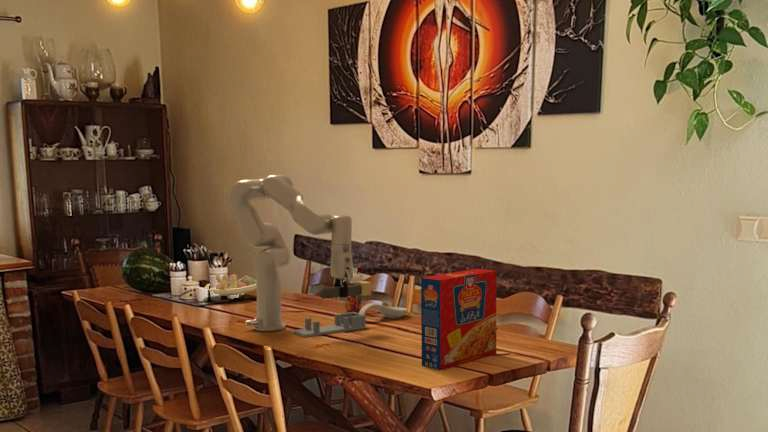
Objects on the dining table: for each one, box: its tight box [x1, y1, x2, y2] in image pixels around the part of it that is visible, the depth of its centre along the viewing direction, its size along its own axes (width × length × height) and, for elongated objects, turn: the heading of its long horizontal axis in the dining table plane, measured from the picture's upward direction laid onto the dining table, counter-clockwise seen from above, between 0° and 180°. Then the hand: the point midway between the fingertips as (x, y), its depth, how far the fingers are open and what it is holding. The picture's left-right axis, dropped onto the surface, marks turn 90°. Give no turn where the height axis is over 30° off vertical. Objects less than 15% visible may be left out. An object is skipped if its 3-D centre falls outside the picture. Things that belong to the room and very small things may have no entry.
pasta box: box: [420, 268, 497, 371], centre depth 221 cm, size 28×8×28 cm, turn 134°
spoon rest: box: [358, 302, 409, 319], centre depth 286 cm, size 24×12×7 cm, turn 128°
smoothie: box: [343, 266, 363, 313], centre depth 301 cm, size 8×8×20 cm
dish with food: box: [203, 273, 256, 297], centre depth 336 cm, size 28×28×14 cm
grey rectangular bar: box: [319, 280, 372, 299], centre depth 259 cm, size 20×5×5 cm, turn 122°
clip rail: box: [293, 312, 367, 338], centre depth 265 cm, size 27×9×5 cm, turn 123°
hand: (340, 295), depth 258 cm, fingers closed on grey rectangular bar, 4 cm apart
